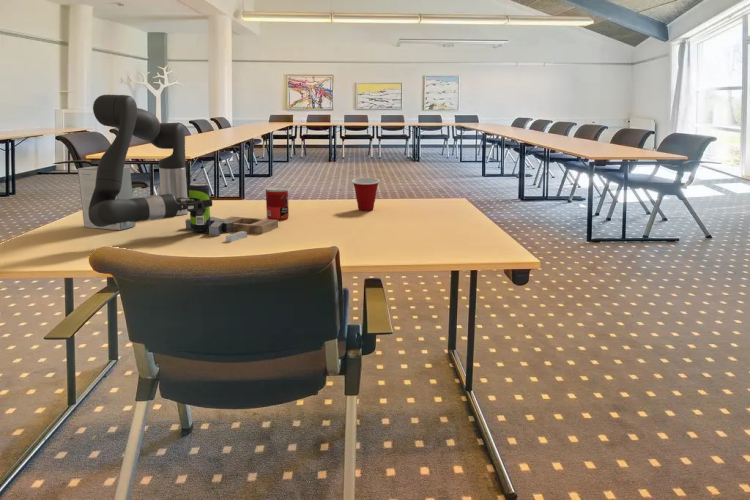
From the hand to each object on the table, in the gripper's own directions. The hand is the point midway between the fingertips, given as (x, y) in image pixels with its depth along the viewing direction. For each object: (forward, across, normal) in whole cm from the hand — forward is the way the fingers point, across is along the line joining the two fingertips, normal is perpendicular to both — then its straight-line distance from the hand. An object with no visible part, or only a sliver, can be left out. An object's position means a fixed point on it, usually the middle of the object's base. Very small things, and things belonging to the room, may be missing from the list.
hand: (205, 201), depth 205 cm
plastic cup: (+65, -9, +9) cm, 66 cm away
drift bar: (0, -17, +10) cm, 19 cm away
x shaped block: (+1, 0, +10) cm, 10 cm away
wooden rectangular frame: (+11, -6, +10) cm, 16 cm away
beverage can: (-2, 0, +9) cm, 10 cm away
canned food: (+29, 0, +10) cm, 31 cm away
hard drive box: (-20, +28, +10) cm, 36 cm away
